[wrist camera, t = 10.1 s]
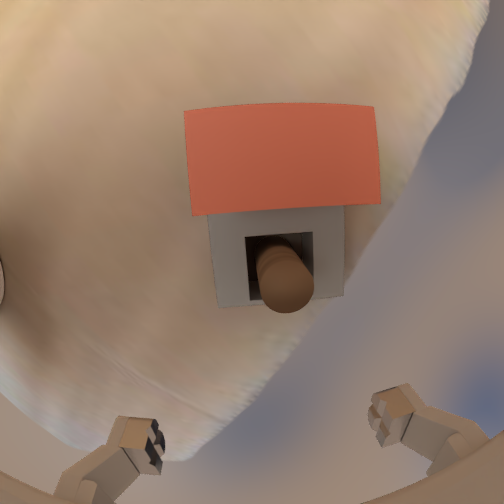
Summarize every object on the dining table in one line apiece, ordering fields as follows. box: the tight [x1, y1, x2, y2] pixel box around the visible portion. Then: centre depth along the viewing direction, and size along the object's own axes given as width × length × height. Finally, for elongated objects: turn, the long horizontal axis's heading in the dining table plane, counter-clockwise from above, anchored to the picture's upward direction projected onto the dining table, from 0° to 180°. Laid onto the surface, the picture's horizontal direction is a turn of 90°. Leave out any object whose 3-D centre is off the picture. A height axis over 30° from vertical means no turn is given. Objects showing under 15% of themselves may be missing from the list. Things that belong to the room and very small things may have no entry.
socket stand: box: [184, 103, 381, 308], centre depth 23 cm, size 12×16×12 cm
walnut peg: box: [254, 235, 314, 313], centre depth 26 cm, size 4×4×10 cm
